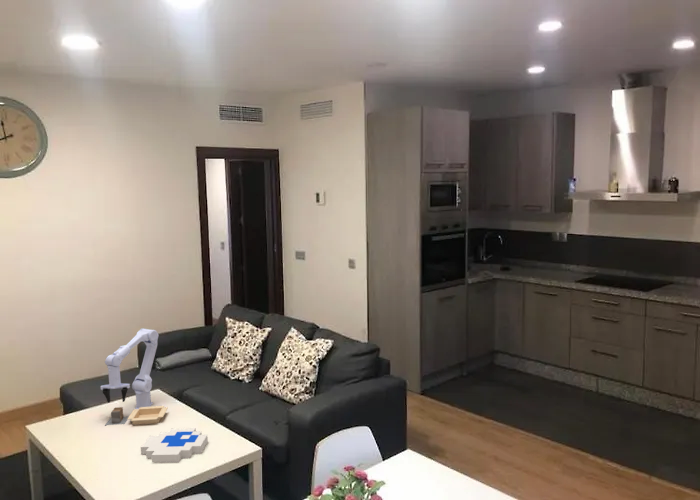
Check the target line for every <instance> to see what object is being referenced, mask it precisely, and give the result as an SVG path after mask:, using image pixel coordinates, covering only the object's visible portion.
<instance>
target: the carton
mask: <svg viewBox="0 0 700 500" xmlns="http://www.w3.org/2000/svg"><path fill="white" fill-rule="evenodd" d="M168 409H169V407H168V406H167V407H165V405H157V406H153V405H151V407H140V408H139V409H135V408H133V410H132V412H131V413H130V414H129V417H128V419H127V421H128V420H130V422H132V425H145V424H146V425H149V424H159V423H160V421H161V419H162V418H163V417H164V416H165V414H166V412H167V411H168Z"/></svg>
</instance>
